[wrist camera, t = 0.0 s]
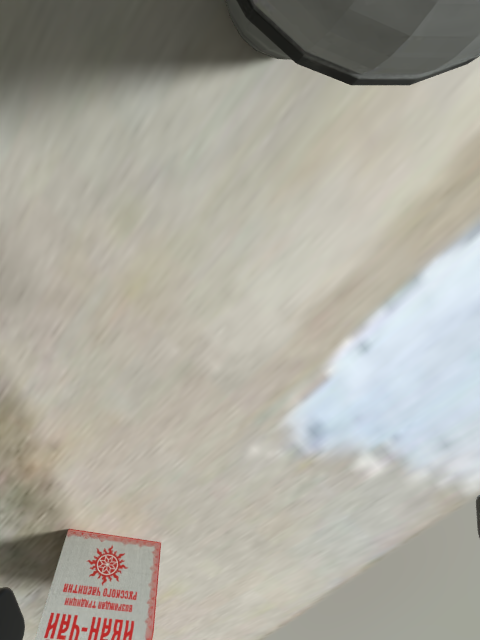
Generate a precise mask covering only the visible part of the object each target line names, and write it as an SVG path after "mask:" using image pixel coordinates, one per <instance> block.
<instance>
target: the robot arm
mask: <svg viewBox="0 0 480 640" xmlns="http://www.w3.org/2000/svg"><path fill="white" fill-rule="evenodd" d="M476 510H477V526H478V534H479V537H480V495H479V496H478V497H477V499H476ZM24 630H25V624H24V618H23V615H22V613H21V611H20V608H19V606H18V603H17V601H16V598H15V596H14V593H13V591H12V590H11V589H10V588H8V587H4V588H0V640H22V639H23V636H24Z"/></svg>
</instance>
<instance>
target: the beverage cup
mask: <svg viewBox="0 0 480 640" xmlns="http://www.w3.org/2000/svg"><path fill="white" fill-rule="evenodd" d="M226 3H227V7H228V10H229V14H230V17H231V19H232V22H233V23H234V25H235V27H236V28H237V30H238V32H239V33H240V35H241V37H242V38H243V39H244V40H245V41H246V42H247V43H249V44H250V45H251V46H252V47H253V48H254V49H255V50H257V51H259V52H261V53H264V54H266V55H269V56H272V57H274V58H277V59H292V60H293V61H294V62H295V63H297V64H299V65H302V66H304V67H307V68H309V69H312V70H314V71H317V72H319V73H322V74H324V75H327V76H329V77H332V78H334V79H337V80H339V81H342V82H344V83H347V84H349V85H411V84H414V83H417V82H419V81H422V80H425V79H428V78H430V77H433V76H436V75H439V74H441V73H444V72H447V71H450V70H452V69H455V68H458V67H461V66H463V65H466V64H468V63H470V62H471V61H473V60H474V59H476V58H478V57H479V56H480V0H226Z"/></svg>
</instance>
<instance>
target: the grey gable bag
mask: <svg viewBox="0 0 480 640" xmlns="http://www.w3.org/2000/svg"><path fill="white" fill-rule="evenodd" d="M160 549H161V543H160V542H153V541H147V540H140V539H133V538H127V537H120V536H113V535H106V534H100V533H93V532H86V531H79V530H73V529H68V532H67V535H66V539H65V542H64V545H63V548H62V552H61V555H60V558H59V562H58V565H57V568H56V571H55V575H54V578H53V581H52V585H51V588H50V591H49V594H48V598H47V601H46V604H45V608H44V611H43V614H42V617H41V621H40V624H39V627H38V631H37V634H36V637H35V640H152V637H153V631H154V619H155V607H156V596H157V584H158V572H159V561H160Z"/></svg>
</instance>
